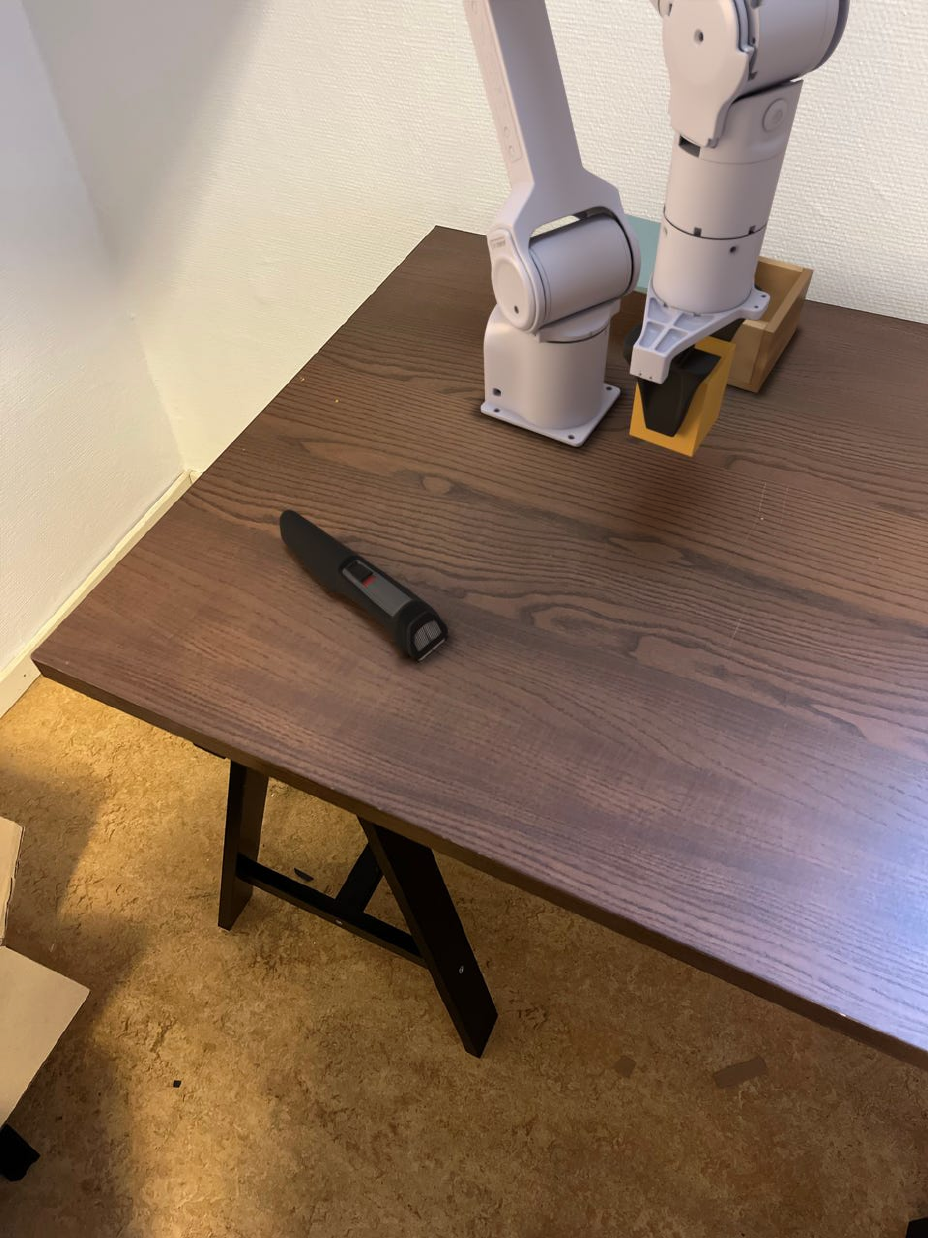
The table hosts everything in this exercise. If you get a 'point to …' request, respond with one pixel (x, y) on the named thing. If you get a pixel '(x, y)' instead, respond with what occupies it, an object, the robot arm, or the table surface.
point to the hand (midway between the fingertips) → (676, 407)
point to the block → (692, 404)
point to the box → (769, 323)
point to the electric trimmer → (365, 586)
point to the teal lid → (645, 248)
